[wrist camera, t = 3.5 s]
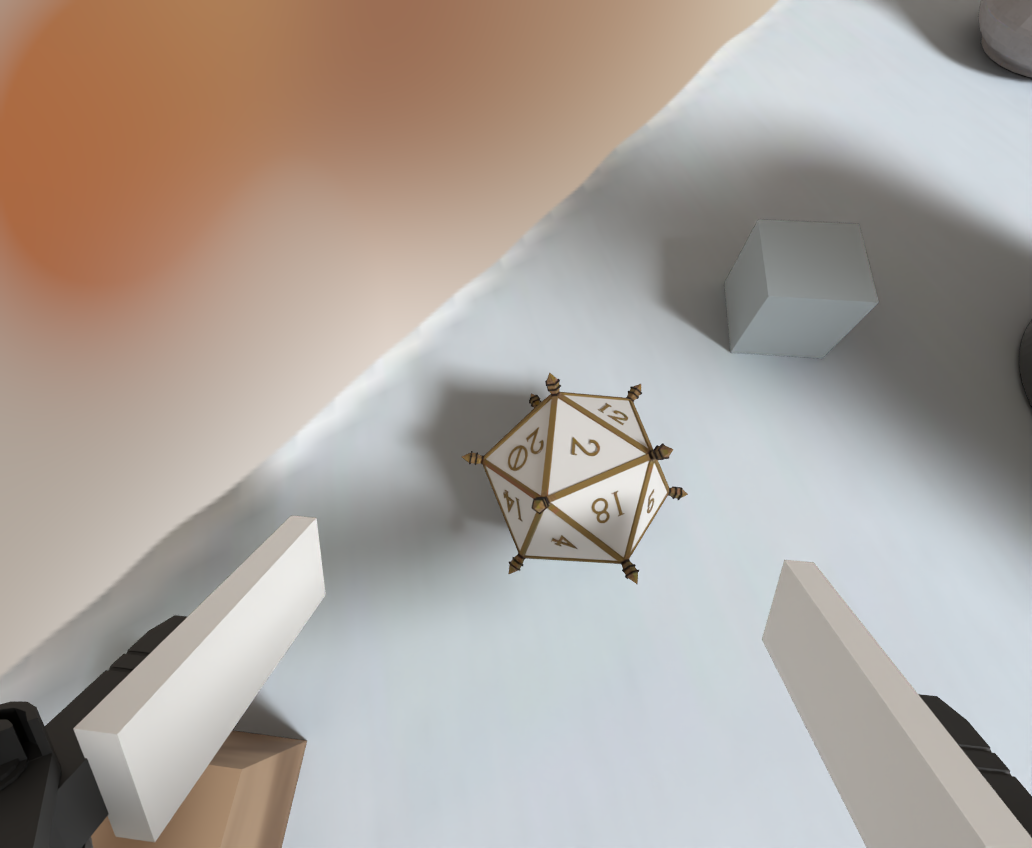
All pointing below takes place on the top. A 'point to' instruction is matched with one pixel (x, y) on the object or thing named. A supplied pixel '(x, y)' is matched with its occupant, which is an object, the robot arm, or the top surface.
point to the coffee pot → (1008, 33)
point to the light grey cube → (798, 288)
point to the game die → (578, 479)
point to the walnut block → (231, 799)
